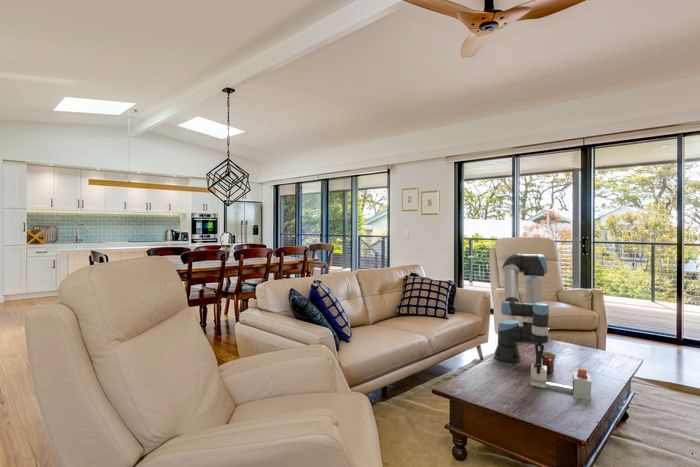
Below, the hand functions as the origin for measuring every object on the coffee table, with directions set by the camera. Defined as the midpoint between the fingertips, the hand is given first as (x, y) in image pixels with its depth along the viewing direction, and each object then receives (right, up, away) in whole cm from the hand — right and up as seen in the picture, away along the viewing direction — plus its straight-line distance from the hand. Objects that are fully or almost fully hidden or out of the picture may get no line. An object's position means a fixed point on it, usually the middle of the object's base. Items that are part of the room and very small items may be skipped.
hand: (538, 375), depth 197 cm
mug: (+13, -6, +17) cm, 21 cm away
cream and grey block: (0, -5, +1) cm, 5 cm away
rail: (+6, -6, -2) cm, 9 cm away
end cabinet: (+17, -6, -8) cm, 20 cm away
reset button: (+17, +3, -9) cm, 19 cm away
